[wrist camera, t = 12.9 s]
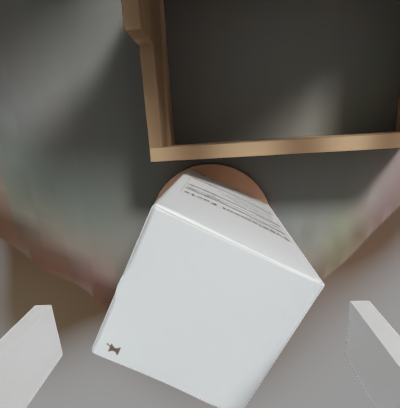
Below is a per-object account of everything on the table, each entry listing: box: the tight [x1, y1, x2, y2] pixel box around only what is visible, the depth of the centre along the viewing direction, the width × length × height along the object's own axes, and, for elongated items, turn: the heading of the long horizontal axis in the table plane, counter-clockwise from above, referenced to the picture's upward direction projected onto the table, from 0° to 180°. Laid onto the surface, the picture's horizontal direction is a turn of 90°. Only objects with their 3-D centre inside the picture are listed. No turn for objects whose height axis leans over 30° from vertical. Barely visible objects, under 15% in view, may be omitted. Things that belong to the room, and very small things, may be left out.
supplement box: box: [92, 168, 324, 408], centre depth 21 cm, size 9×9×15 cm
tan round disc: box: [155, 164, 269, 205], centre depth 28 cm, size 12×12×1 cm
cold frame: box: [121, 0, 400, 162], centre depth 20 cm, size 22×15×9 cm
